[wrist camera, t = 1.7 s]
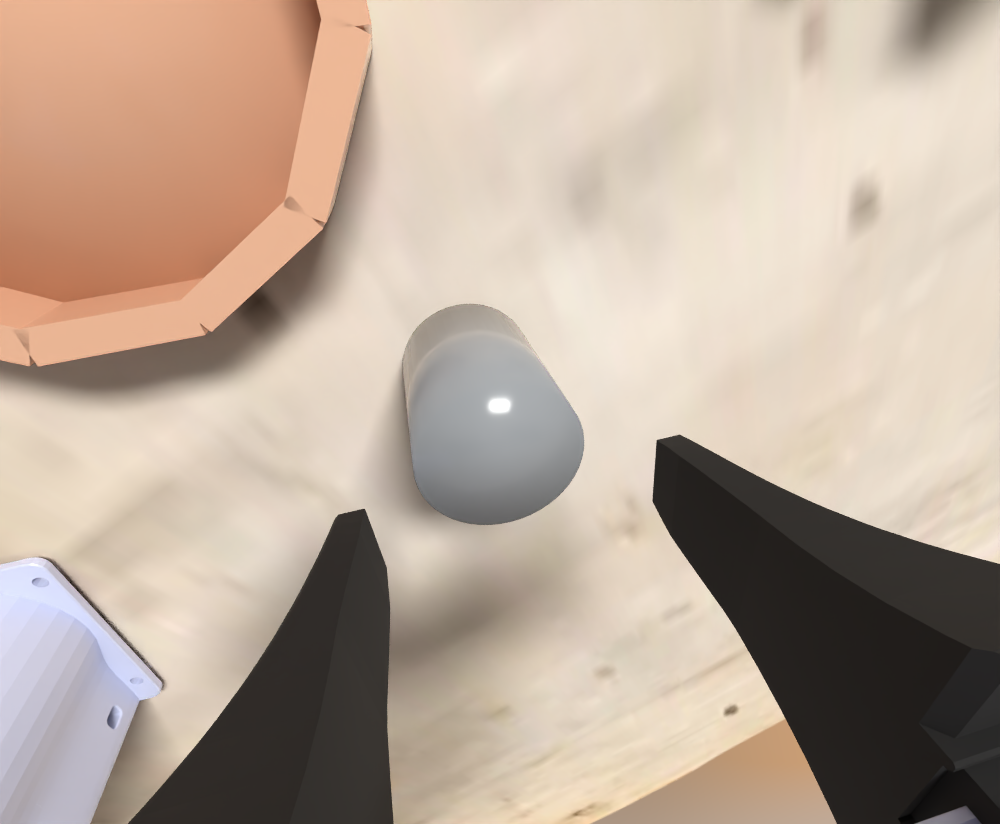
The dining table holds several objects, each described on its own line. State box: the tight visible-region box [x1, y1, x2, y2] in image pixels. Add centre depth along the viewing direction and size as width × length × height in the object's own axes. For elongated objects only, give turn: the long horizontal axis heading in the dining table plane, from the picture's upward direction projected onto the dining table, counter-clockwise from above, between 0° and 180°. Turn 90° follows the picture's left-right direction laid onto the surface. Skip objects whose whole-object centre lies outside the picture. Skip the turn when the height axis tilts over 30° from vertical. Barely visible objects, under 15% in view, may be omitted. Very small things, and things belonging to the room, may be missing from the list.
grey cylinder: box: [403, 304, 584, 525], centre depth 16 cm, size 5×5×6 cm
